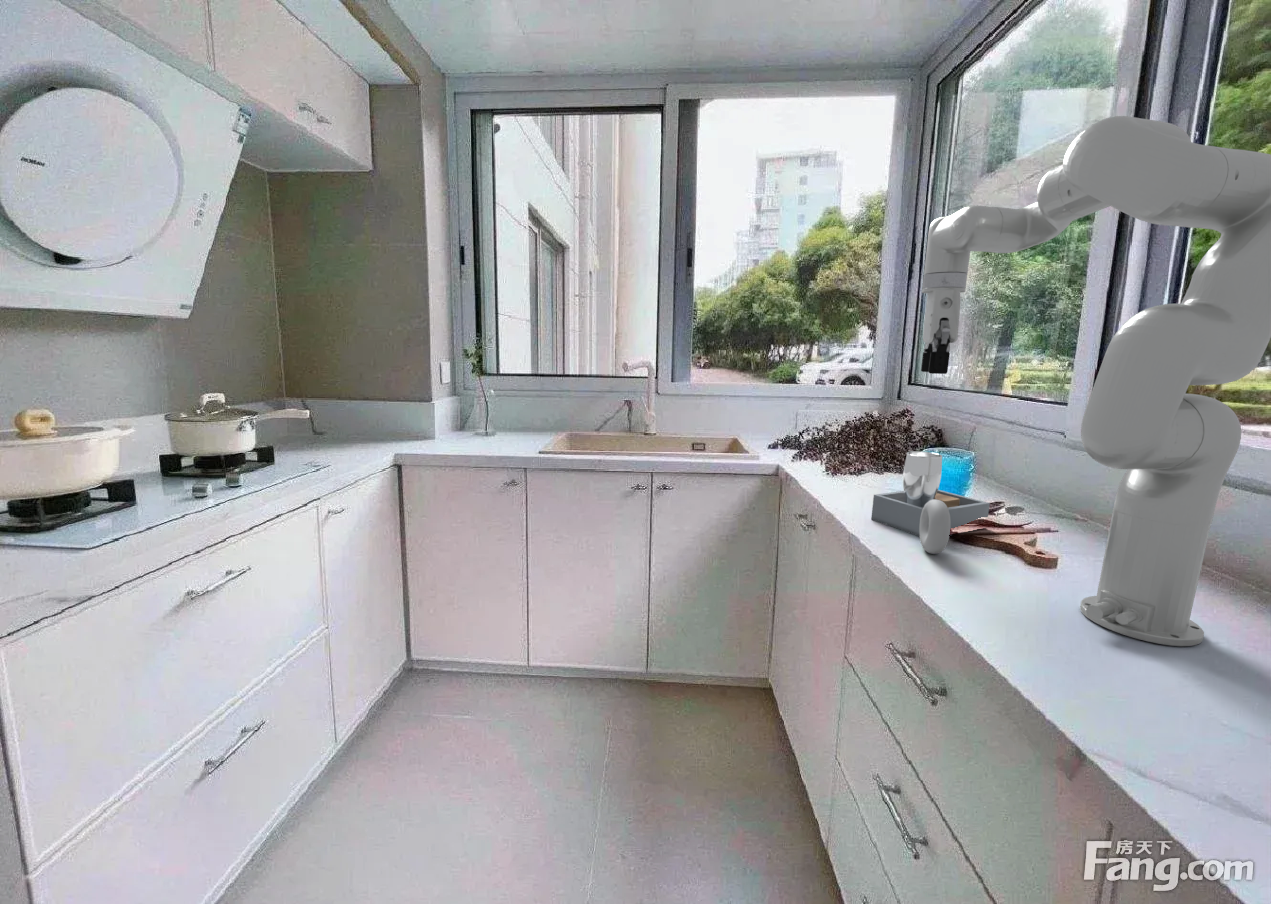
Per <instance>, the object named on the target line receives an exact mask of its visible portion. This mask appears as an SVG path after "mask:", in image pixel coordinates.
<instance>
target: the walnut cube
mask: <svg viewBox="0 0 1271 904" xmlns="http://www.w3.org/2000/svg"><path fill="white" fill-rule="evenodd" d="M935 499H936V500H940V501H942V502H944V503H945V504H946V506H947V507H948V508H949V507H955V506H959V503H960V499H958V498H954V497H950V496H947V495H943V494H939V493H938V494H936V497H935Z"/></svg>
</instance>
